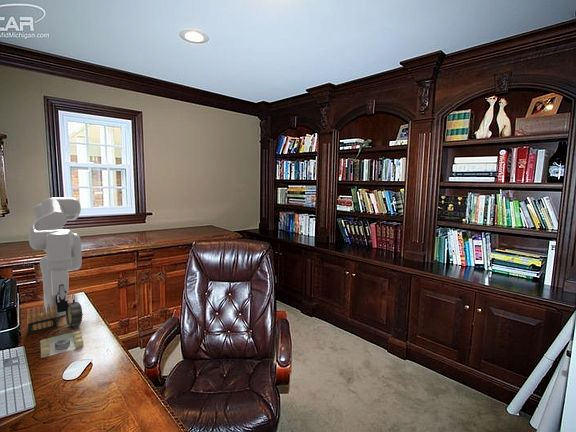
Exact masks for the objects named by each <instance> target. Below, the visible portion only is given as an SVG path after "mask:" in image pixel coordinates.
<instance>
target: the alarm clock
mask: <svg viewBox="0 0 576 432" xmlns="http://www.w3.org/2000/svg"><path fill="white" fill-rule="evenodd" d="M71 296H72V302H69V303H68V311H66V315H65V320H66V324H67V327H68V328H71V327H73V330H74V331H77V330H76V326H79V325H80V326H81V323H82V321H83V315H84V314H83V309H82V305H81V303H80V302H78V301H76V296H75V294H74V293H72V295H71Z"/></svg>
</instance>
